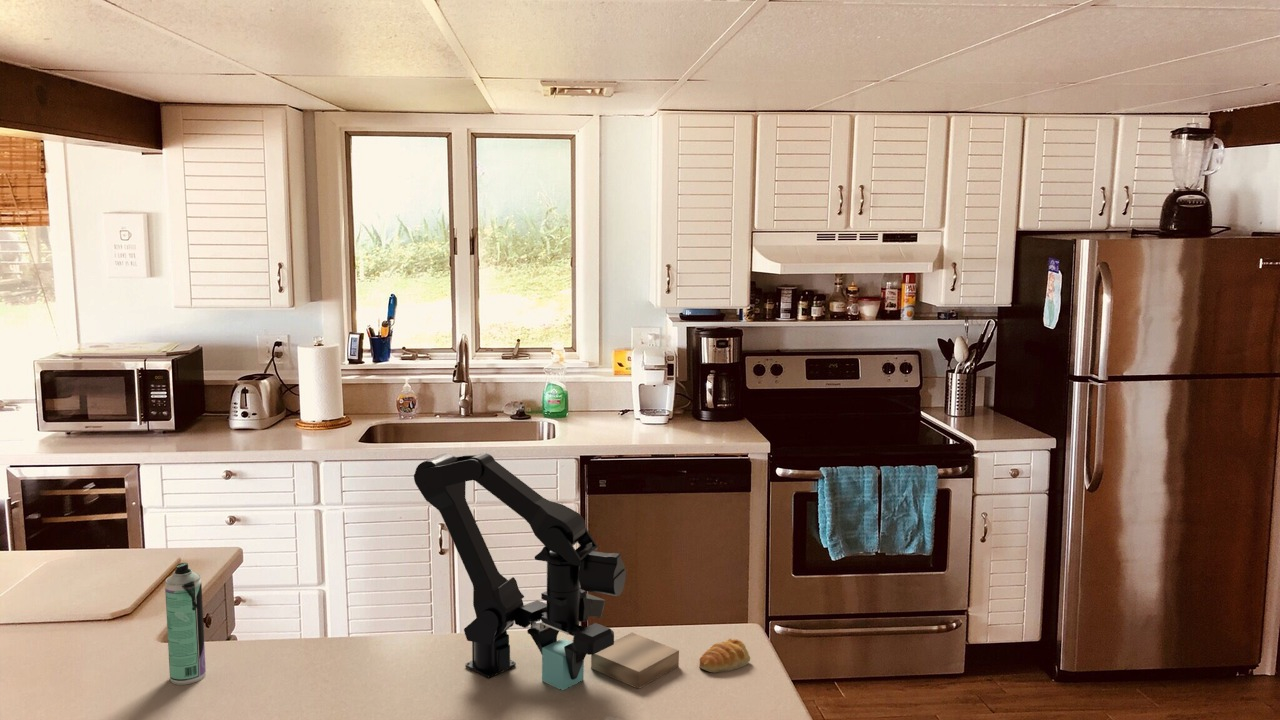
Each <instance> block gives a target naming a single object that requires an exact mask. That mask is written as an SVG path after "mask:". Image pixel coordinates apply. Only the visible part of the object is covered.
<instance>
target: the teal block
mask: <svg viewBox="0 0 1280 720" xmlns="http://www.w3.org/2000/svg"><path fill="white" fill-rule="evenodd" d="M571 643H573V641H571V640H568V639H566V638H561V639H559V640H558V639H557V641H556V642H554V643H552V644H549V645H547V646H545V647H543V648H542V654H541V657H542V658H541V660H542V661H541V682H543V681H544V682H543V683H545V682H546V683H545V684H548V685H550V686H551V687H553V688H556V689H559V690H560V689H561V690H560V691H565V690H567V689H569V688H570V687H573V686H575V685H576V684H578V682H579V683H581V682H582V680H583V681H584V676H585V675H584V672H585V670H584V668H585V666H584V661H585V660H584V661H583V663H582V666H581V669H580V671H579V674H578V676H577V678H576V679H574V680H572V679H571V677H570V673H569V669H568V664H567V659H566V654H565V649H564V646H567V645H569V644H571ZM580 681H581V682H580ZM574 684H575V685H574ZM572 685H573V686H572ZM568 687H569V688H568Z"/></svg>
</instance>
